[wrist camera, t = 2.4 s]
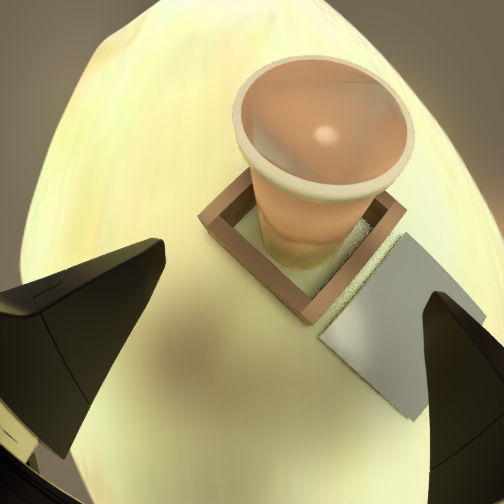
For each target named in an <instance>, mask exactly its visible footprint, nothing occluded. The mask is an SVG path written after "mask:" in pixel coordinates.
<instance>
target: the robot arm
mask: <svg viewBox="0 0 504 504" xmlns="http://www.w3.org/2000/svg"><path fill="white" fill-rule="evenodd" d="M165 264H166V257H165V244H164V241H163V240H162V239H157V238H149V239H147V240H144V241H141V242H138V243H135V244H132V245H130V246H127V247H124V248H121V249H118V250H116V251H113V252H110V253H107V254H105V255H102V256H99V257H97V258H94V259H91V260H89V261H86V262H83V263H81V264H78V265H76V266H73V267H70V268H68V269H67V270H63V271H60V272H57V273H55V274H52V275H50V276H47V277H44V278H41V279H38V280H36V281H33V282H30V283H27V284H24V285H21V286H18V287H15V288H12V289H9V290H6V291H3V292H0V504H85V503H83V502H81V501H79V500H78V499H76V498H74V497H73V496H71V495H70V494H68V493H66V492H65V491H63V490H62V489H60V488H59V487H57V486H56V485H54V484H53V483H51V482H50V481H48V480H47V479H45V478H44V477H43V476H41V475H40V473H39V469H38V465H37V461H36V457H35V453H34V450H35V448H36V447H37V445H38V443H39V444H41V445H42V446H44V447H45V448H46V449H48V450H50V451H51V452H52V453H54V454H55V455H57V456H59V457H60V458H62V459H63V460H64V459H65V458H66V456H67V454H68V452H69V450H70V448H71V445H72V443H73V441H74V439H75V437H76V435H77V433H78V431H79V429H80V427H81V425H82V423H83V421H84V419H85V417H86V415H87V413H88V411H89V409H90V407H91V406H90V405H92V403H93V401H94V399H95V397H96V395H97V393H98V391H99V389H100V387H101V385H102V384H103V382H104V380H105V378H106V376H107V374H108V372H109V371H110V369H111V367H112V365H113V363H114V361H115V360H116V358H117V356H118V354H119V352H120V351H121V349H122V347H123V345H124V344H125V342H126V340H127V338H128V337H129V335H130V333H131V331H132V330H133V328H134V326H135V325H136V323H137V321H138V319H139V318H140V316H141V314H142V313H143V311H144V309H145V308H146V306H147V304H148V302H149V300H150V298H151V296H152V294H153V292H154V289H155V287H156V285H157V283H158V281H159V279H160V276H161V274H162V272H163V270H164V268H165ZM422 321H423V341H424V359H425V368H426V377H427V388H428V401H429V419H430V472H429V490H428V503H427V504H504V347H503V346H502V345H501V344H500V343H499V342H498V341H497V340H496V339H495V338H494V337H493V336H492V335H491V334H490V333H489V332H488V331H487V330H486V329H485V328H484V327H483V326H482V325H480V324H479V323H478V322H477V321H476V320H475V319H474V318H473V317H472V316H471V315H470V314H469V313H468V312H466V311H465V310H464V309H463V308H462V307H461V306H460V305H459V304H458V303H456V302H455V301H454V300H453V299H452V298H451V297H450V296H448V295H447V294H446V293H445V292H441V291H433V292H432V294H431V296H430V298H429V300H428V302H427V304H426V306H425V308H424V310H423V314H422Z"/></svg>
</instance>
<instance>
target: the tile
mask: <svg viewBox="0 0 504 504" xmlns="http://www.w3.org/2000/svg"><path fill="white" fill-rule="evenodd" d="M433 291H441V292H445V293H446V294H447V295H448V296H450V297H451V298H452V299H453V300H454V301H455V302H456V303H458V304H459V305H460V306H461V307H462V308H463V309H464V310H465V311H466V312H468V313H469V314H470V315H471V316H472V317H473V318H474V319H475V320H476V321H477V322H478V323H479V324H480V325H482V324H483V322H484V320H485V318H486V317H487V316H486V315H485V314H484V313H483V312H482V310H481V309H480V308H479V307H478V306H477V305H476V303H475V302H474V301H473V300H472V299H471V298H470V297H469V295H468V294H467V293H466V292H465V291H464V290H463V289H462V288H461V287H460V285H459V284H458V283H457V282H456V281H455V280H454V279H453V278H452V277H451V276H450V275H449V274H448V273H447V272H446V270H445V269H444V268H443V267H442V266H441V265H440V264H439V263H438V262H437V261H436V260H435V259H434V258H433V257H432V256H431V255H430V254H429V253H428V252H427V251H426V250H425V249H424V248H423V247H422V246H421V245H420V244H419V243H418V242H417V241H415V240H414V239H413V238H412V237H411V236H410V235H409V234H408V233H407V232H405V233H404V234H403V235H402V236H401V237H400V238H399V240H398V241H397V242H396V244H395V245H394V246H393V248H392V249H391V250H390V252H389V253H388V254H387V256H386V257H385V258H384V259H383V261H382V262H381V263H380V265H379V266H378V267H377V268H376V270H375V271H374V272H373V273H372V275H371V276H370V277H369V278H368V280H367V281H366V282H365V283H364V285H363V286H362V287H361V288H360V289H359V291H358V292H357V293H356V294H355V295H354V297H353V298H352V299H351V300H350V301H349V302H348V304H347V305H346V306H345V307H344V308H343V309H342V311H341V312H340V313H339V314H338V315H337V316H336V317H335V319H334V320H333V321H332V322H331V323H330V324H329V325H328V326H327V328H326V329H325V330H324V331H323V332H322V333H321V334H320V335H319V336H318V338H319V339H320V340H321V341H322V342H324V343H325V344H326V345H327V346H328V347H329V348H330V349H331V350H332V351H333V352H335V353H336V354H337V355H338V356H339V357H340V358H341V359H342V360H343V361H344V362H346V363H347V364H348V365H349V366H350V367H351V368H352V369H353V370H354V371H355V372H357V373H358V374H359V375H360V376H361V377H362V378H363V379H364V380H365V381H367V382H368V383H369V384H370V385H371V386H372V387H373V388H374V389H375V390H377V391H378V392H379V393H380V394H381V395H382V396H383V397H384V398H386V399H387V400H388V401H389V402H390V403H391V404H392V405H393V406H395V407H396V408H397V409H398V410H399V411H400V412H401V413H403V414H404V415H405V416H406V417H407V418H408V419H410V420H411V421H413V422H414V421H415V420H416V419H417V418H418V416H419V415H420V414H421V413H422V412H423V410H424V409H425V408H426V407H427V406H428V404H429V401H428V388H427V377H426V368H425V359H424V341H423V321H422V314H423V310H424V308H425V306H426V304H427V302H428V300H429V298H430V296H431V294H432V292H433Z"/></svg>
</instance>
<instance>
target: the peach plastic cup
mask: <svg viewBox="0 0 504 504" xmlns="http://www.w3.org/2000/svg"><path fill="white" fill-rule="evenodd" d="M232 119H233V127H234V131H235V136H236V140H237V143H238V147H239V149H240V151H241V153H242V155H243V157H244V159H245V160H246V162H247V163H248V165H249V166H250V170H251V176H252V181H253V187H254V193H255V198H256V204H257V210H258V215H259V221H260V227H261V232H262V238H263V241H264V244H265V246H266V248H267V250H268V252H269V253H270V254H271V256H272V257H273V258H274V259H276V260H277V261H278V262H279V263H281V264H283V265H285V266H287V267H290V268H293V269H299V270H308V269H314V268H317V267H319V266H322V265H323V264H325V263H327V262H328V261H329V260H330V259H331V258H332V257H333V256H334V255H335V254H336V252H337V251H338V250H339V248H340V247H341V245H342V244H343V243H344V241H345V240H346V238H347V237H348V236H349V234H350V233H351V231H352V230H353V229H354V227H355V226H356V224H357V223H358V221H359V220H360V218H361V217H362V216H363V214H364V213H365V211H366V210H367V208H368V207H369V205H370V204H371V202H372V201H373V199H374V198H375V196H376V195H378V194H380V193H381V192H383V191H385V190H386V189H387V188H388V187H389V186H391V185H392V184H393V182H394V181H395V180H396V179H397V178H398V177H399V175H400V174H401V172H402V171H403V169H404V168H405V166H406V165H407V163H408V161H409V160H410V158H411V155H412V152H413V149H414V142H415V131H414V126H413V121H412V118H411V115H410V113H409V111H408V109H407V107H406V105H405V103H404V102H403V100H402V99H401V97H400V96H399V95H398V94H397V93H396V91H395V90H394V89H393V88H392V87H391V86H390V85H389V84H388V83H386V82H385V81H384V80H383V79H381V78H380V77H379V76H377V75H376V74H374V73H373V72H371V71H369V70H367V69H365V68H363V67H362V66H359V65H357V64H354V63H352V62H349V61H346V60H342V59H338V58H334V57H327V56H317V55H306V56H295V57H289V58H285V59H281V60H278V61H276V62H273V63H271V64H268V65H266V66H264V67H263V68H261V69H259V70H258V71H256V72H255V73H254V74H253V75H251V76H250V77H249V78H248V79H247V80H246V81H245V82H244V84H243V85H242V86H241V88H240V89H239V91H238V93H237V95H236V98H235V101H234V104H233V111H232Z"/></svg>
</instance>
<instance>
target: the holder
mask: <svg viewBox="0 0 504 504" xmlns="http://www.w3.org/2000/svg"><path fill="white" fill-rule="evenodd" d="M255 205H256V198H255V193H254V187H253V181H252V176H251V170H250V167H248V168H247V169H246V170H245V171H244V172H243V173H242V174H241V175H240V176H239V177H238V178H237V179H235V180H234V181H233V182H232V183H231V184H230V185H229V186H228V187H227V188H226V189H225V190H224V191H223V192H222V193H221V194H220V195H219V196H217V197H216V198H215V199H214V200H213V201H212V202H211V203H210V204H209V205H208V206H207V207H206V208H205V209H204V210H203V211H202V212H201V213H200V214H199V215H198V216H197V217H198V218H199V220H200V221H201V223H202V224H203V226H204V227H205V228H206V230H207V231H208V233H209V234H210V235H211V236H212V237H213V238H214V239H216V240H217V241H218V242H219V243H220V244H221V245H222V246H223V247H224V248H225V249H226V250H227V251H228V252H229V253H230V254H231V255H232V256H233V257H234V258H236V259H237V260H238V261H239V262H240V263H241V264H242V265H243V266H244V267H245V268H246V269H247V270H248V271H249V272H250V273H251V274H252V275H254V276H255V277H256V278H257V279H258V280H259V281H260V282H261V283H262V284H263V285H264V286H265V287H266V288H267V289H268V290H270V291H271V292H272V293H273V294H274V295H275V296H276V297H277V298H278V299H279V300H280V301H281V302H282V303H283V304H285V305H286V306H287V307H288V308H289V309H290V310H291V311H292V312H293V313H294V314H295V315H296V316H297V317H299V318H300V319H301V320H302V321H303V322H304V323H305V324H306V325H307V326H308V325H313V324H314V323H315V322H316V321H317V320H318V319H319V318H320V317H321V316H322V314H323V313H324V312H325V311H326V310H327V309H328V308H329V307H330V305H331V304H332V303H333V302H334V301H335V300H336V299H337V298H338V296H339V295H340V294H341V293H342V292H343V291H344V289H345V288H346V287H347V286H348V285H349V284H350V282H351V281H352V280H353V279H354V278H355V276H356V275H357V274H358V273H359V272H360V270H361V269H362V268H363V267H364V265H365V264H366V263H367V262H368V261H369V259H370V258H371V257H372V256H373V254H374V253H375V252H376V251H377V249H378V248H379V247H380V245H381V244H382V243H383V242H384V240H385V239H386V238H387V236H388V235H389V234H390V233H391V231H392V230H393V229H394V227H395V226H396V225H397V223H398V222H399V221H400V219H401V218H402V217H403V215H404V214H405V213H406V211H407V209H405V208H404V207H403V206H402V205H401V204H400V203H399V202H398V201H396V200H395V199H394V198H393V197H392V196H391V195H390V194H388V193H387V192H386V191H383V192H381V193H380V194H378V195H376V196H375V198H374V199H373V201H372V202H371V204H370V205H369V207H368V208H367V210H366V211H365V213H364V214H363V216H362V218H364V219H365V220H366V221H367V222H368V223H369V224H370V225H372V226H373V227H374V228H373V229H372V230H371V231H370V233H369V234H368V235H367V236H366V238H365V239H364V240H363V241H362V242H361V244H360V245H359V246H358V247H357V248H356V250H355V251H354V252H353V253H352V254H351V256H350V257H349V258H348V259H347V260H346V261H345V263H344V264H343V265H342V266H341V267H340V268H339V270H338V271H337V272H336V273H335V274H334V275H333V276H332V278H331V279H330V280H329V281H328V282H327V283H326V284H325V286H324V287H323V288H322V289H321V290H320V291H319V292H318V293H317V294H316V296H315V297H314V298H313V299H312V300H311V299H310V298H309V297H308V296H307V295H306V294H305V293H303V292H302V291H301V290H300V289H299V288H298V287H297V286H296V285H295V284H294V283H293V282H291V281H290V280H289V279H288V278H287V277H286V276H285V275H284V274H283V273H282V272H281V271H279V270H278V269H277V268H276V267H275V266H274V265H273V264H272V263H271V262H270V261H269V260H267V259H266V258H265V257H264V256H263V255H262V254H261V253H260V252H259V251H258V250H257V249H255V248H254V247H253V246H252V245H251V244H250V243H249V242H248V241H247V240H246V239H244V238H243V237H242V236H241V235H240V234H239V233H238V232H237V231H236V230H235V229H234V228H232V227H233V226H234V225H235V224H236V223H237V222H238V221H239V220H240V219H241V218H242V217H243V216H244V215H245V214H246V213H247V212H249V211H250V210H251V209H252V208H253V207H254V206H255Z"/></svg>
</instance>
